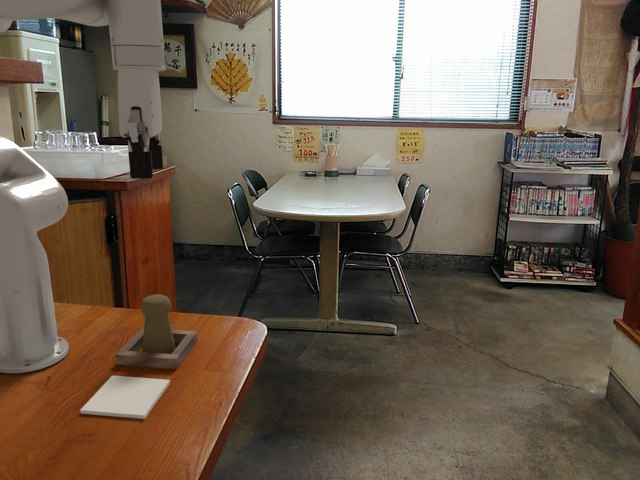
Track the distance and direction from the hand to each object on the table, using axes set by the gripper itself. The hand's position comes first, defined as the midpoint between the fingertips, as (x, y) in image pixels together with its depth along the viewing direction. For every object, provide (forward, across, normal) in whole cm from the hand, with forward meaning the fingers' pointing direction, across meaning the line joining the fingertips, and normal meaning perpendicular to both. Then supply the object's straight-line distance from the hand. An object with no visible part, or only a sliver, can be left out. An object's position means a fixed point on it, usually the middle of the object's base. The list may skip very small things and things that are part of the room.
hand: (147, 173), depth 84 cm
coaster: (+34, +10, -4) cm, 36 cm away
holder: (+34, -5, -2) cm, 34 cm away
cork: (+34, -5, -2) cm, 35 cm away
